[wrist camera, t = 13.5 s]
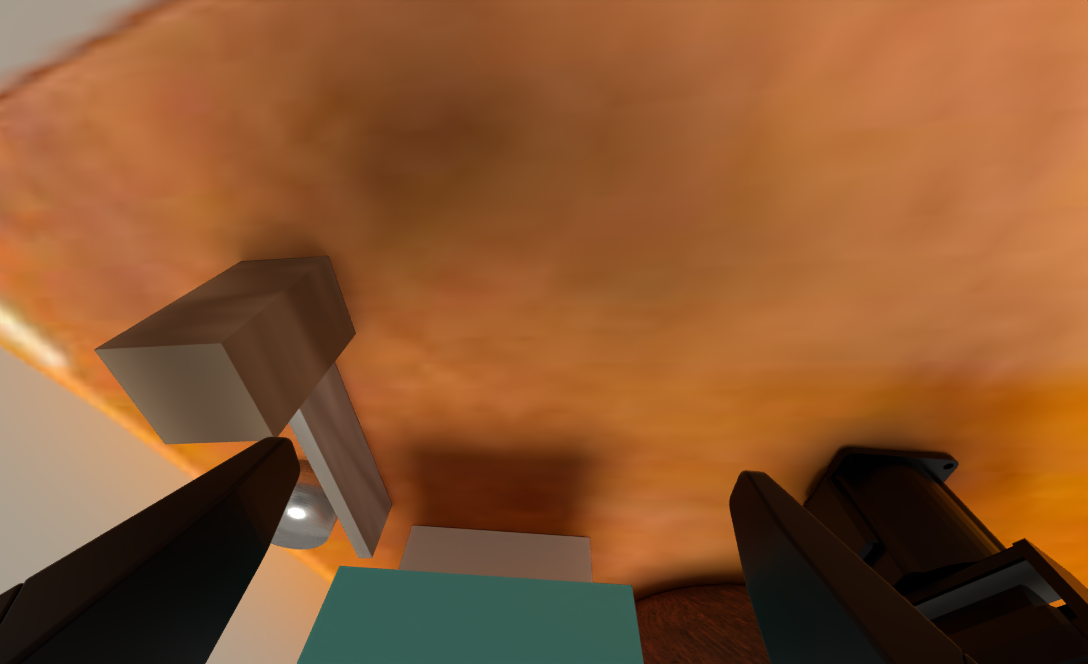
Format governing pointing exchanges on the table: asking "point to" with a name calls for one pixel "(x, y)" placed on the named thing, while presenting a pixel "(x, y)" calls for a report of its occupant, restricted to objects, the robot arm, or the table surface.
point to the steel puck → (306, 514)
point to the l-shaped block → (477, 605)
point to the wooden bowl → (700, 627)
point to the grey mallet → (259, 376)
